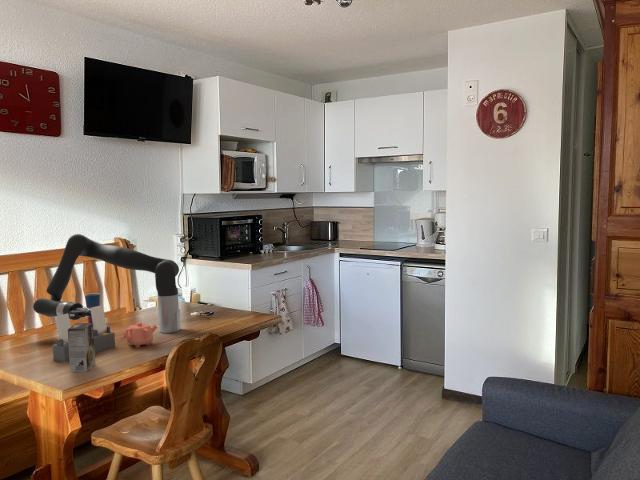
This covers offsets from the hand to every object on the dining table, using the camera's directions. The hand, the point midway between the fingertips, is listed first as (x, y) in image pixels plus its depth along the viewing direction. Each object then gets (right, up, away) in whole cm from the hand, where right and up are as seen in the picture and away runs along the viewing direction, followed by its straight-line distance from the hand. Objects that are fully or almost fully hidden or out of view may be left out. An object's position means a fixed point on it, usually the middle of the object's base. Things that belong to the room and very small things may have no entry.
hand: (96, 314), depth 227 cm
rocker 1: (-6, -9, -14) cm, 18 cm away
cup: (-19, -11, +43) cm, 49 cm away
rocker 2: (+2, -7, 0) cm, 8 cm away
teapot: (+18, -14, +4) cm, 23 cm away
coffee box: (+6, -17, -27) cm, 32 cm away
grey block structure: (-2, -15, -7) cm, 16 cm away
